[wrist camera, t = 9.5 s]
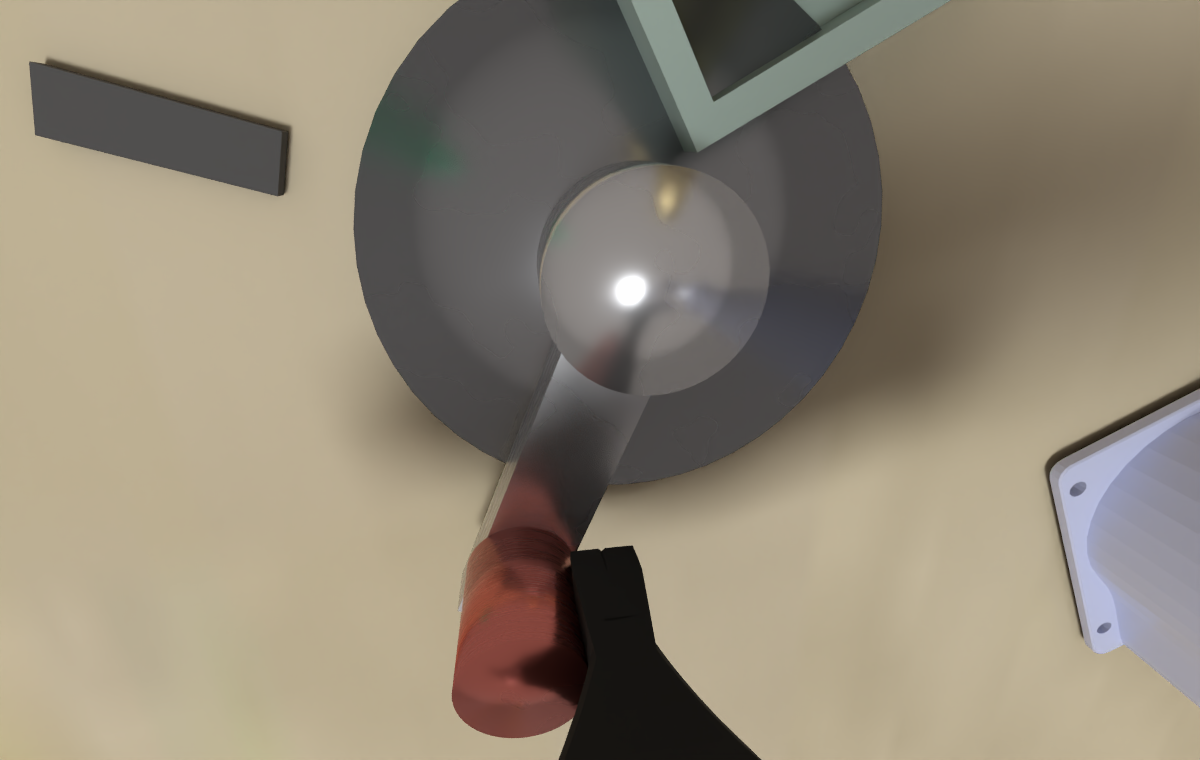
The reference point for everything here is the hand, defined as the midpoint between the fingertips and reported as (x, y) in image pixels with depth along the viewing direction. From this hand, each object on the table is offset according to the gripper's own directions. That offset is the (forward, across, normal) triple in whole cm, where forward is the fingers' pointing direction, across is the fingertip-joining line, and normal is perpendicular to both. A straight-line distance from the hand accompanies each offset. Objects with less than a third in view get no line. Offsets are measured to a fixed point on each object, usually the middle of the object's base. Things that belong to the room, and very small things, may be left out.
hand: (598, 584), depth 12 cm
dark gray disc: (+3, -1, -6) cm, 7 cm away
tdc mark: (+3, +8, -9) cm, 12 cm away
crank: (+2, 0, -4) cm, 4 cm away
